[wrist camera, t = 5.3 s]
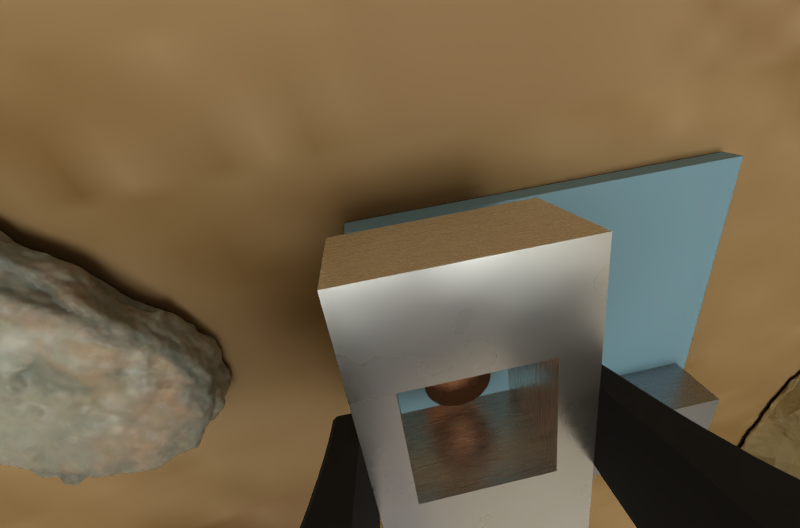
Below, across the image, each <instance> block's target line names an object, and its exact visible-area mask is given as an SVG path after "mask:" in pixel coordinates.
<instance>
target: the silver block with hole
mask: <svg viewBox="0 0 800 528" xmlns="http://www.w3.org/2000/svg"><path fill="white" fill-rule="evenodd" d="M611 242H612V231H610V230H608V229H606V228H604V227H601V226H599V225H597V224H595V223H593V222H590V221H588V220H586V219H584V218H581V217H579V216H577V215H575V214H573V213H570V212H568V211H566V210H564V209H561V208H559V207H557V206H555V205H552V204H550V203H548V202H546V201H544V200H541V199H539V198H537V197H536V198H531V199H526V200H521V201H516V202H510V203H505V204H500V205H495V206H489V207H484V208H479V209H474V210H469V211H463V212H458V213H453V214H448V215H442V216H437V217H432V218H427V219H421V220H416V221H411V222H406V223H401V224H395V225H390V226H385V227H380V228H374V229H369V230H364V231H359V232H354V233H348V234H343V235H338V236H333V237H327V238H326V240H325V246H324V252H323V258H322V264H321V271H320V277H319V283H318V289H317V291H318V295H319V298H320V302H321V306H322V309H323V313H324V316H325V320H326V324H327V327H328V331H329V334H330V338H331V342H332V345H333V349H334V352H335V356H336V360H337V363H338V367H339V370H340V374H341V378H342V381H343V385H344V388H345V392H346V396H347V399H348V403H349V406H350V410H351V414H352V417H353V421H354V424H355V428H356V432H357V435H358V439H359V441H360V445H361V449H362V453H363V456H364V460H365V464H366V468H367V471H368V475H369V478H370V482H371V486H372V489H373V493H374V496H375V500H376V504H377V507H378V511H379V514H380V518H381V522H382V525H383V528H588V527H589V516H590V503H591V491H592V478H593V466H594V453H595V441H596V428H597V415H598V401H599V388H600V379H601V366H602V354H603V341H604V329H605V316H606V304H607V291H608V279H609V267H610V254H611ZM505 369H508V380H509V390H505V391H501V392H496V393H492V394H487V395H483V396H479V397H477V398H476V399H474V400H473V401H471V402H468V403H466V404H463V405H458V406H444V405H438V406H434V407H429V408H425V409H421V410H416V411H412V412H407V413H403V414H402V411H401V406H400V401H399V396H398V393H401V392H406V391H410V390H415V389H419V388H424V387H428V386H433V385H438V384H442V383H447V382H451V381H456V380H460V379H465V378H469V377H474V376H478V375H483V374H487V373H492V372H496V371H501V370H505Z"/></svg>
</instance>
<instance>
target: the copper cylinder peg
mask: <svg viewBox="0 0 800 528" xmlns="http://www.w3.org/2000/svg"><path fill="white" fill-rule="evenodd" d="M490 376H491V374H490V373H487V374H483V375H478V376H474V377H469V378H465V379H460V380H456V381H451V382H447V383H442V384H438V385H433V386H428V387H425V391H426V393H427V395H428V397H429V398H430V399H431V400H432V401H434V402H435V403H437V404H440V405H444V406H458V405H463V404H466V403H468V402H471V401H473V400H474V399H476V398H477V397H479V396H480V395H481V394H482V393H483V392H484V391H485V389H486V388H487V386H488V384H489V382H490Z"/></svg>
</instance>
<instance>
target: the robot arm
mask: <svg viewBox="0 0 800 528" xmlns="http://www.w3.org/2000/svg"><path fill="white" fill-rule="evenodd" d="M594 466H595V467H596V468H597V470H598V471H599V473H600V474H601V476H602V477H603V479H604V480H605V482H606V483H607V485H608V486H609V488H610V489H611V491H612V492H613V494H614V495H615V496H616V498H617V499H618V501H619V502H620V504H621V505H622V507H623V508H624V510H625V511H626V512H627V514H628V515H629V517H630V518H631V520H632V521H633V523H634V524H635V526H636V527H637V528H800V479H798V478H796V477H794V476H792V475H790V474H788V473H786V472H784V471H782V470H780V469H778V468H776V467H774V466H772V465H770V464H768V463H766V462H764V461H762V460H760V459H759V458H757V457H755V456H753V455H751V454H749V453H747V452H746V451H744V450H742V449H740V448H739V447H737V446H735V445H733V444H731V443H730V442H728V441H726V440H724V439H722V438H721V437H719V436H717V435H715V434H714V433H712V432H710V431H708V430H707V429H705V428H703V427H702V426H700V425H698V424H696V423H695V422H693V421H691V420H690V419H688V418H686V417H685V416H683V415H681V414H680V413H678V412H677V411H675V410H673V409H672V408H670V407H668V406H667V405H665V404H664V403H662V402H660V401H659V400H657V399H656V398H654V397H652V396H651V395H649V394H648V393H646V392H645V391H643V390H641V389H640V388H638V387H637V386H635V385H634V384H632V383H630V382H629V381H627V380H626V379H624V378H623V377H621V376H620V375H618V374H616V373H615V372H613V371H612V370H610V369H609V368H607V367H605V366H604V365H602V366H601V379H600V388H599V401H598V415H597V428H596V441H595V453H594ZM300 528H380V514H379V511H378V507H377V504H376V500H375V496H374V493H373V489H372V486H371V482H370V478H369V475H368V471H367V468H366V464H365V460H364V456H363V453H362V449H361V445H360V441H359V439H358V435H357V432H356V428H355V424H354V421H353V417H352V414H347V415H342V416H338V417H336V418H335V419H334V420H333V424H332V429H331V433H330V437H329V441H328V445H327V449H326V452H325V456H324V459H323V463H322V466H321V469H320V472H319V476H318V479H317V481H316V484H315V487H314V490H313V493H312V496H311V499H310V502H309V505H308V508H307V511H306V513H305V516H304V519H303V521H302V524H301V526H300Z"/></svg>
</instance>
